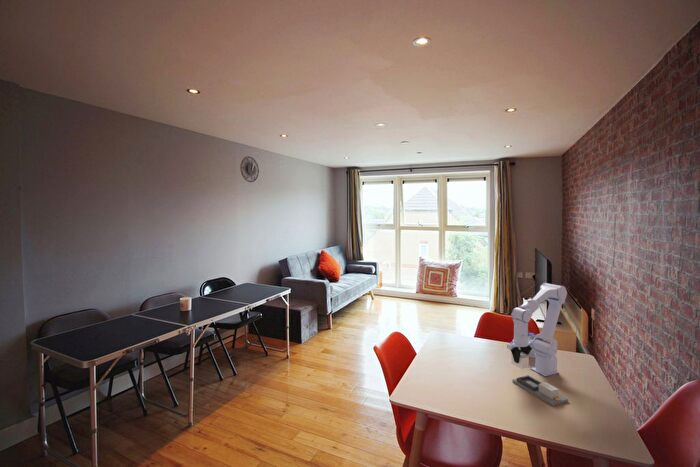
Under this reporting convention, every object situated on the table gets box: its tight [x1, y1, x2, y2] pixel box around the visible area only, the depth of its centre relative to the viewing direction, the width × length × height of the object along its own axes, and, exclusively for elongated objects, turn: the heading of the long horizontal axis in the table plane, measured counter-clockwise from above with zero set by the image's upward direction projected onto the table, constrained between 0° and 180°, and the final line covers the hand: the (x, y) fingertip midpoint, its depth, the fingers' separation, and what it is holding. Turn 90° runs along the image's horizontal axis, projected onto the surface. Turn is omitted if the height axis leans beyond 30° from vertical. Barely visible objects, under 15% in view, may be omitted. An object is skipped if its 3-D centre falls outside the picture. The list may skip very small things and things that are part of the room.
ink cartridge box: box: [518, 331, 536, 359], centre depth 175 cm, size 10×6×14 cm, turn 72°
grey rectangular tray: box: [512, 374, 569, 407], centre depth 139 cm, size 9×20×5 cm, turn 20°
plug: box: [510, 352, 530, 370], centre depth 149 cm, size 4×6×6 cm, turn 19°
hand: (520, 361), depth 149 cm, fingers closed on plug, 4 cm apart
